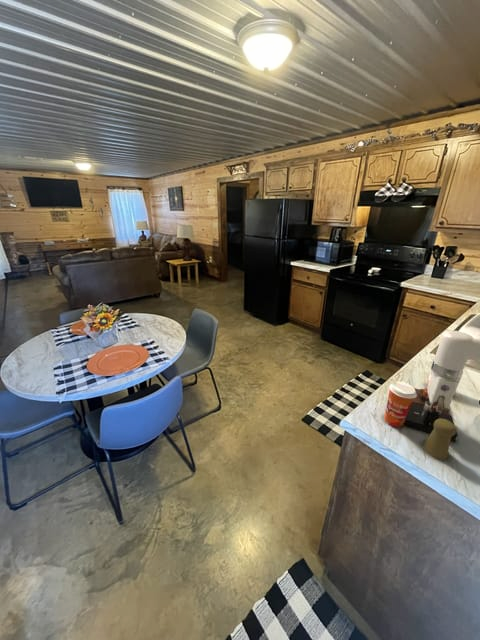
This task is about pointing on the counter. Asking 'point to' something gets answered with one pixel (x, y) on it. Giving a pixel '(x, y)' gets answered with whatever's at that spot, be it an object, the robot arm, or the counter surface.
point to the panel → (424, 421)
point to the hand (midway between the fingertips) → (429, 415)
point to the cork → (440, 439)
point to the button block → (422, 398)
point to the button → (425, 392)
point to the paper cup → (399, 403)
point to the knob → (426, 408)
